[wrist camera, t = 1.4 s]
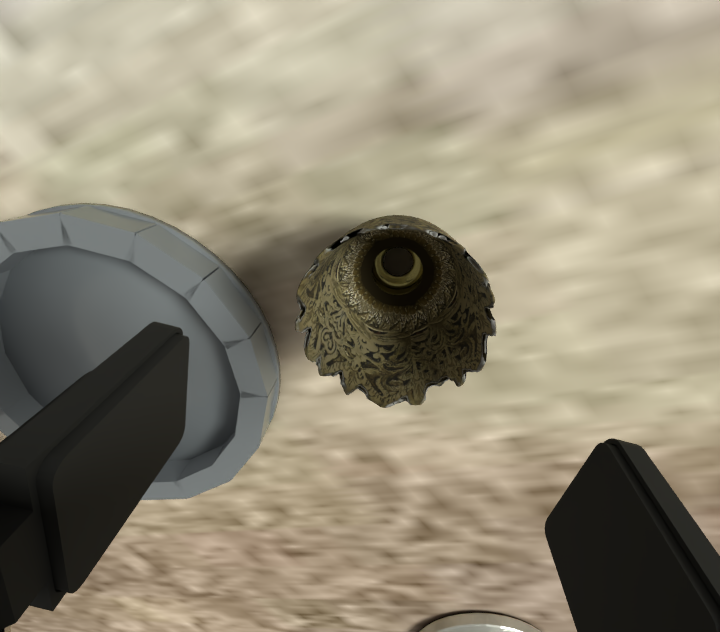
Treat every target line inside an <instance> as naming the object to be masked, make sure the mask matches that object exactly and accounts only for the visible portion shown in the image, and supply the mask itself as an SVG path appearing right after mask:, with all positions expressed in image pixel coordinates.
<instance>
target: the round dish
mask: <svg viewBox="0 0 720 632" xmlns="http://www.w3.org/2000/svg"><path fill="white" fill-rule="evenodd" d="M152 322H160V323H164V324H168V325H172V326H175V327H179V328H181V329H182V331H183V335H184V336H187V337H189V342H190V344H189V363H188V383H187V402H186V421H185V431H184V434H183V437H182V439H181V441H180V443H179V445H178V446H177V448H176V449H175V450H174V452H173V453H172V455H171V456H170V458H169V459H168V461H167V462H166V464H165V465H164V466H163V468H162V469H161V471H160V472H159V474H158V475H157V477H156V478H155V480H154V481H153V482H152V484H151V485H150V487H149V488H148V490H147V491H146V493H145V494H144V495H143V497H142V498H141V500H160V499H187V498H191V497H193V496H196V495H198V494H200V493H203V492H205V491H207V490H210V489H212V488H215V487H217V486H219V485H222V484H224V483H227V482H229V481H230V480H232V479H233V477H234V476H235V475H236V474H237V473H238V471H239V470H240V469H241V468H242V467H243V465H244V464H245V463H246V462H247V461H248V460H249V458H250V457H251V456H252V455H253V454H254V452H255V451H256V450H257V449H258V448H259V446H260V444H261V442H262V439H263V437H264V435H265V433H266V431H267V429H268V426H269V424H270V422H271V420H272V418H273V415H274V413H275V410H276V406H277V403H278V399H279V392H280V382H281V379H280V363H279V358H278V353H277V348H276V344H275V341H274V338H273V336H272V333H271V330H270V327H269V325H268V323H267V321H266V319H265V317H264V315H263V313H262V311H261V309H260V307H259V306H258V304H257V303H256V301H255V300H254V298H253V297H252V295H251V293H250V292H249V290H248V289H247V288H246V287H245V285H244V284H243V283H242V282H241V281H240V279H239V278H238V277H237V276H236V275H235V273H234V272H233V271H232V270H231V269H230V268H229V267H228V266H227V265H226V264H224V263H223V262H222V261H221V260H220V259H219V258H218V257H217V256H216V255H215V254H214V253H212V252H211V251H210V250H208V249H207V248H206V247H205V246H203V245H202V244H201V243H199V242H198V241H197V240H195V239H194V238H192V237H190V236H189V235H187V234H185V233H184V232H182V231H181V230H179V229H177V228H176V227H174V226H172V225H169V224H167V223H165V222H163V221H161V220H159V219H156V218H154V217H152V216H149V215H146V214H143V213H140V212H137V211H134V210H131V209H127V208H122V207H117V206H111V205H106V204H90V203H79V204H68V205H60V206H56V207H52V208H48V209H44V210H40V211H36V212H33V213H31V214H29V215H26V216H22V217H18V218H14V219H9V220H5V221H1V222H0V431H1V432H2V433H3V434H5V435H6V436H7V437H8V436H9V435H10V434H11V433H13V432H14V431H15V430H16V429H18V428H19V427H20V426H21V425H23V424H24V423H25V422H26V421H27V420H29V419H30V418H31V417H32V416H34V415H35V414H36V413H37V412H39V411H40V410H41V409H42V408H44V407H45V406H46V405H47V404H48V403H50V402H51V401H52V400H53V399H55V398H56V397H57V396H58V395H60V394H61V393H62V392H63V391H65V390H66V389H67V388H68V387H69V386H71V385H72V384H73V383H74V382H76V381H77V380H78V379H79V378H81V377H82V376H83V375H85V374H86V373H88V372H90V371H92V370H94V369H95V368H96V367H97V366H99V365H100V364H101V363H102V362H103V361H105V360H106V359H107V358H108V357H110V356H111V355H112V354H113V353H114V352H116V351H117V350H118V349H119V348H121V347H122V346H123V345H124V344H125V343H127V342H128V341H129V340H130V339H132V338H133V337H134V336H135V335H136V334H138V333H139V332H140V331H141V330H143V329H144V328H145V327H146V326H147V325H149V324H150V323H152Z"/></svg>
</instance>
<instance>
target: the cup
mask: <svg viewBox="0 0 720 632" xmlns="http://www.w3.org/2000/svg"><path fill="white" fill-rule="evenodd" d="M394 247H402V248H405V249H407V250H408V251H409V252H410V253H411V255H412V257H413V266H412V268H411V270H410V271H409V272H408V273H407V274H405V275H402V276H394V275H391V274H389V273H388V272H387V271H386V270H385V268H384V266H383V257H384V255H385V253H386V252H387V251H388V250H390V249H391V248H394ZM488 282H489V280H488V278H487V276H486V274H485V272H484V271H483V270H482V268H481V267H480V266H479V264H478V263H477V262H476V261H475V260H474V259H473V258H472V257H471V256H470V255H469V254H468V253H467V251H466V249H465V248H464V247H463V246H461V245H460V244H459V243H457V242H456V241H455V240H454V239H453V238H452V237H451V236H450V235H448V234H447V233H446V232H445V231H443V230H442V229H440V228H439V227H437V226H436V225H434V224H432V223H430V222H427V221H425V220H422V219H419V218H415V217H411V216H404V215H392V216H384V217H379V218H376V219H372V220H369V221H367V222H365V223H363V224H361V225H359V226H357V227H356V228H354V229H352V230H351V231H349V232H348V233H347V234H345V235H344V236H343V237H341V238H340V239H339V240H337V241H336V242H335V243H334V244H332V245H331V246H329V247H327V248H326V249H324V250H323V251H322V252H321V254H320V255H319V256H318V257H317V258H316V259H315V261H314V264H313V265H312V267H311V268H310V269H309V271H308V272H307V273H306V275H305V276H304V278H303V279H302V281H301V283H300V285H299V288H298V291H297V302H298V304H299V306H300V309H301V311H300V314H299V315H298V317H297V320H296V324H295V330H296V332H300V333H304V332H307V333H306V337H305V343H304V350H305V354H306V357H307V358H308V360H310V361H312V362H314V361H315V362H316V365H317V366H318V371H319V375H320V376H330V375H331V376H333V377H334V376H336V375H338V374H339V375H340V379H341V385H342V387H343V389H344V392H345V393H346V395H349V394H350V393H352V392H353V391H355V390H356V389H359V390H360V391H362V392H364V394H365V395H366V397H367V399H369V400H371V401H372V402H374V403H376V404H377V405H379V406H380V407H383V408H387V407H390V406H393V405H395V404H397V403H401V402H403V401H407V402H408V403H409V404H410V405H421V404H422V403H423V402H424V401H425V400H426V392H427V389H428V388H429V387H432V386H434V385H435V386H441V385H442V384H443V383H444V382H445V381H447V380H448V379H450V380H451V381H454V382H455V384H456V386H458V387H459V386H461V385H463V383H464V382H465V379H466V372H479V371H481V370H482V368H483V366H484V364H485V362H486V356H487V338H488V336H489V335H490V336H493V335H494V336H496V324H495V319H494V318H493V316H492V314H491V311H490V308H493V307H494V306H493V305H494V303H495V298H494V295H493V293H492V291H491V288H490V284H489V283H488ZM306 329H307V330H306Z"/></svg>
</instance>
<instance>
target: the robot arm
mask: <svg viewBox="0 0 720 632" xmlns="http://www.w3.org/2000/svg"><path fill="white" fill-rule="evenodd" d="M189 344H190V342H189V337H187V336H184V335H183V331H182V329H181V328H179V327H175V326H172V325H168V324H164V323H160V322H152V323H150V324H149V325H147V326H146V327H145V328H144V329H143V330H141V331H140V332H139V333H138V334H136V335H135V336H134V337H133V338H132V339H130V340H129V341H128V342H127V343H125V344H124V345H123V346H122V347H121V348H119V349H118V350H117V351H116V352H114V353H113V354H112V355H111V356H110V357H108V358H107V359H106V360H105V361H103V362H102V363H101V364H100V365H99V366H97V367H96V368H95V369H94V370H92V371H90V372H88V373H86V374H85V375H83V376H82V377H81V378H79V379H78V380H77V381H76V382H74V383H73V384H72V385H71V386H69V387H68V388H67V389H66V390H65V391H63V392H62V393H61V394H60V395H58V396H57V397H56V398H55V399H53V400H52V401H51V402H50V403H48V404H47V405H46V406H45V407H44V408H42V409H41V410H40V411H39V412H37V413H36V414H35V415H34V416H32V417H31V418H30V419H29V420H27V421H26V422H25V423H24V424H23V425H21V426H20V427H19V428H18V429H16V430H15V431H14V432H13V433H11V434H10V435H9V436H8V437H6V438H5V439H4V440H3V441H2V442H0V632H11V625H12V624H14V623H16V622H17V621H18V619H19V618H20V617H21V615H22V614H23V613H24V611H25V610H26V609H27V608H28V606H29V605H30V606H34V607H38V608H42V609H46V610H50V611H53V610H54V609H55V608H56V606H57V605H58V603H59V602H60V601H61V599H62V598H63V596H64V595H65V594H66V592H68V593H74V592H75V591H77V590H78V589H79V588H80V586H81V585H82V584H83V583H84V581H85V580H86V578H87V577H88V575H89V574H90V572H91V571H92V570H93V568H94V567H95V565H96V564H97V562H98V561H99V559H100V558H101V557H102V555H103V554H104V552H105V551H106V549H107V548H108V546H109V545H110V543H111V542H112V541H113V539H114V538H115V536H116V535H117V533H118V532H119V530H120V529H121V527H122V526H123V525H124V523H125V522H126V520H127V519H128V517H129V516H130V514H131V513H132V511H133V510H134V509H135V507H136V506H137V504H138V503H139V501H140V500H141V498H142V497H143V495H144V494H145V493H146V491H147V490H148V488H149V487H150V485H151V484H152V482H153V481H154V480H155V478H156V477H157V475H158V474H159V472H160V471H161V469H162V468H163V466H164V465H165V464H166V462H167V461H168V459H169V458H170V456H171V455H172V453H173V452H174V450H175V449H176V448H177V446H178V445H179V443H180V441H181V439H182V437H183V434H184V431H185V421H186V402H187V383H188V363H189ZM545 535H546V538H547V541H548V544H549V547H550V550H551V554H552V557H553V560H554V563H555V566H556V569H557V572H558V575H559V578H560V581H561V584H562V587H563V590H564V593H565V596H566V599H567V602H568V605H569V608H570V611H571V614H572V617H573V620H574V623H575V626H576V629H577V632H720V556H719V555H718V553H717V552H716V550H715V549H714V548H713V546H712V545H711V543H710V542H709V541H708V539H707V538H706V536H705V535H704V533H703V532H702V531H701V529H700V528H699V526H698V525H697V524H696V522H695V521H694V519H693V518H692V517H691V515H690V514H689V512H688V511H687V509H686V508H685V507H684V505H683V504H682V502H681V501H680V500H679V498H678V497H677V495H676V494H675V493H674V491H673V490H672V488H671V487H670V486H669V484H668V483H667V481H666V480H665V478H664V477H663V476H662V474H661V473H660V471H659V470H658V469H657V467H656V466H655V464H654V463H653V462H652V460H651V459H650V457H649V456H648V454H647V453H646V452H645V450H644V449H643V448H642V447H641V446H639V445H637V444H633V443H629V442H625V441H621V440H617V439H608V440H606V441H605V442H604V443H599V444H598V445H597V446H596V447H595V448H594V450H593V451H592V453H591V454H590V456H589V457H588V459H587V460H586V462H585V463H584V465H583V466H582V468H581V469H580V471H579V472H578V474H577V475H576V477H575V478H574V480H573V481H572V482H571V484H570V485H569V487H568V488H567V490H566V491H565V493H564V494H563V496H562V497H561V499H560V500H559V502H558V503H557V505H556V506H555V508H554V509H553V511H552V512H551V514H550V515H549V517H548V518H547V520H546V523H545ZM419 632H541V631H540V630H538V629H536V628H535V627H533V626H532V625H530V624H528V623H525V622H523V621H521V620H518V619H515V618H511V617H508V616H503V615H497V614H491V613H465V614H458V615H452V616H448V617H445V618H442V619H439V620H436V621H434V622H432V623H430V624H429V625H427V626H426V627H424V628H423V629H422V630H421V631H419Z"/></svg>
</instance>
